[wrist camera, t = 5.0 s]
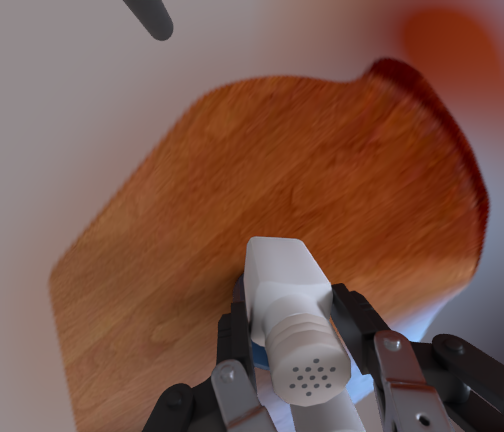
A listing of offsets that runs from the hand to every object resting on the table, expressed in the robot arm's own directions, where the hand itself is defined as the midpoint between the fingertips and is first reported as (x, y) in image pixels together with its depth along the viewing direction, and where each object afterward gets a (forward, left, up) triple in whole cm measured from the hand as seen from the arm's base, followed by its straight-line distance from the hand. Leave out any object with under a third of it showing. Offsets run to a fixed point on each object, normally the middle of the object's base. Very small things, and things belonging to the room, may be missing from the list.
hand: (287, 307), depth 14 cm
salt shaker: (0, 0, -6) cm, 6 cm away
